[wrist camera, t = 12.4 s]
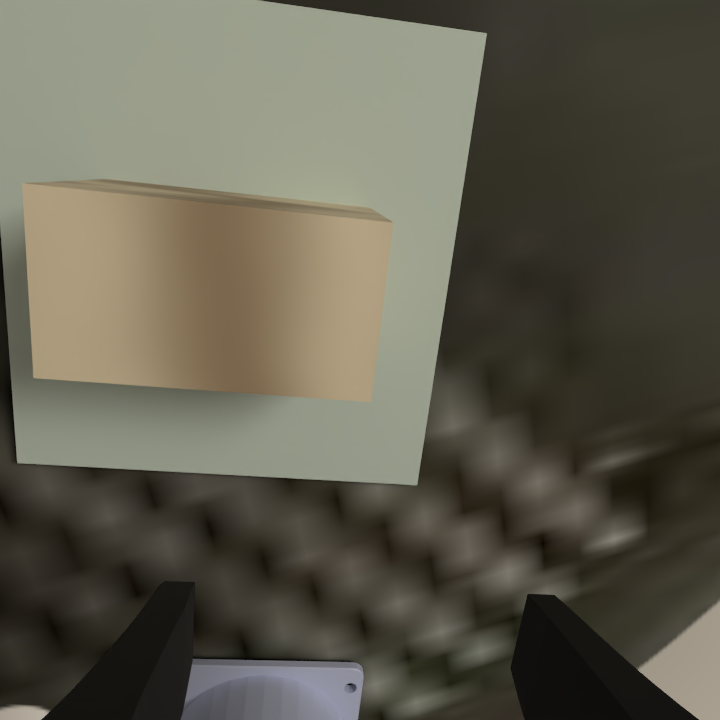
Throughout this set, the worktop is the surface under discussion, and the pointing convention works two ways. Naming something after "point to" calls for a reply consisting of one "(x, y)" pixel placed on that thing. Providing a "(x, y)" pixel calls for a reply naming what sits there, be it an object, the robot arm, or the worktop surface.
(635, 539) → the worktop surface
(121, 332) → the birch block
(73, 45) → the rubber mat
